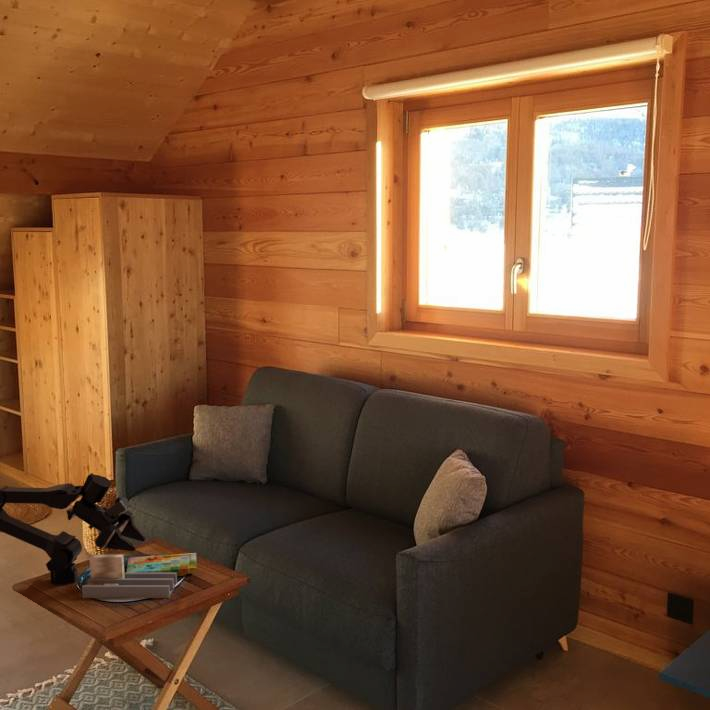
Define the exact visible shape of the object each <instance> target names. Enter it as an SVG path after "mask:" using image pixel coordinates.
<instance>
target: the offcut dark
mask: <svg viewBox="0 0 710 710" xmlns="http://www.w3.org/2000/svg"><path fill="white" fill-rule="evenodd" d="M86 585H103V582H88V583H86Z"/></svg>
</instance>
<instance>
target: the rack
mask: <svg viewBox="0 0 710 710" xmlns="http://www.w3.org/2000/svg"><path fill="white" fill-rule="evenodd" d="M124 574H125V578H91V577H89V578H87V579H86V581H87V582H86V584H83V585H82V586H81V593H82V598H83V599H93V598H94V599H117V598H118V599H119V598H120V599H169V598H170V596H171V595H172V593H173V591H174V589H175V587H176V585H177V583H178V576H177V572H125V571H124ZM88 582H103V585H87V584H88ZM104 583H108V584H119V585H104Z"/></svg>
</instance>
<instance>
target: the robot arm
mask: <svg viewBox="0 0 710 710" xmlns="http://www.w3.org/2000/svg"><path fill="white" fill-rule="evenodd" d="M111 486H112V483H111V481H110V479H109V478H108V477H106V476H102V475H99V474H94V473H93V472H90V474H88V475H87V477H86V479H85V481H84V483H83V484H82V485H74V484H73V483H69V482H68V483H60V484H56V485H52V486H49V487H22V486H21V487H20V486H19V487H18V486H17V487H15V486H14V487H12V486H11V487H10V486H2V487H0V532H2V533H3V534H6V535H8V536H10V537H13V538H15V539H17V540H20V541H22V542H24V543H26V544H29V545H32V546H34V547H36V548H37V549H39V550H42V551H44V552H45V553H46V555H47V556H48V557H49V560H48V561H47V562H46V564H45V566H46V568H47V571H48V572H50V584H53V585H56V586H65V585H69V584H75V583H77V581H78V580H79V576H78V575H79V574H78V568H76V563H75V561H76V560H77V559H78V556H79V555H80V554H81V553H82V552H83V551H82V550H83V547H82V542H81V540H79V539H78V538H76V535H73V534H69V533H68V532H66V531H64V530H63V531H61V532H60V533H59V534H57V535H55V534H52V533H50V532H47V531H44V530H42V529H40V528H37V526H33V525H31V524H29V523H27V522H24V521H21V520H19V519H17V518H15V517H13V516H10V515H9V514H8V513H7V511H6V510H5V509H4V506H5V505H6V504H31V505H32V504H35V505H36V504H37V505H39V504H40V505H45V506H46V507H49V508H53V509H57V510H65V509H67V508H68V507H69V506H71V505H72V504H73V505H72V507H70V508H68V509H67V510H66V515H67V520H68V521H71V520H73V518H75V517H77V518H78V519H79V520H82V521H83V522H84V523H86V524H87V525H88V528H89V529H90V530H93V529H95V530H97V531H98V532H99V534H98V535H97V536H96V539H95V540H94V543H95V546H96V547H98V548H99V549H100V550H102V549H103V548H104V550H107V549H110V550H121V551H127V552H134V551H136V547H135V546H134V544H132V543H131V542H130V541H129V540H127V539H126V538H129V539H133V540H135V541H139V542H145V540H146V537H145V536H144V534H143V533H142V532H141V531H140V530H139V528H138V527H137V525H136V524H135V521H134V518H135V517H134V513H133V512H132V511H130V510H128V509H129V508H130V507H131V504H130V503H129V499H128V498H126V496H121V495H119V496H118V497H116V498H115V499H114V504H113V505H112V506H110V507H108V506H107V505H106V506H103V507H101V506H100V505H98V504H99V503H102V501H103V499H104V498H105V497H106V495H107V494H108V491H109V490H110V488H111ZM80 497H81V498H80ZM79 498H80V499H79ZM77 499H79V500H77Z"/></svg>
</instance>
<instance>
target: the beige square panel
mask: <svg viewBox="0 0 710 710" xmlns="http://www.w3.org/2000/svg"><path fill="white" fill-rule="evenodd" d="M124 559H125V558H124V554H91V555H90V556H89V569H90V570H89V572H90V578H125V574H124V572H125V560H124Z"/></svg>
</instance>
